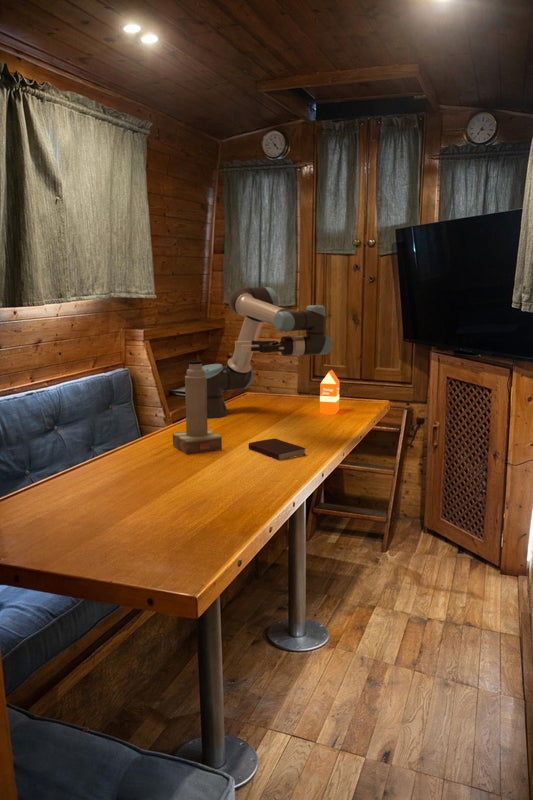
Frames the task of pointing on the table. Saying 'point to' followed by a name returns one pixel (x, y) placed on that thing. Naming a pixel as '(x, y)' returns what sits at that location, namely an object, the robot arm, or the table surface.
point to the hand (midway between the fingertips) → (238, 346)
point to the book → (277, 448)
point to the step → (197, 442)
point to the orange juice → (329, 394)
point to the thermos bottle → (196, 400)
